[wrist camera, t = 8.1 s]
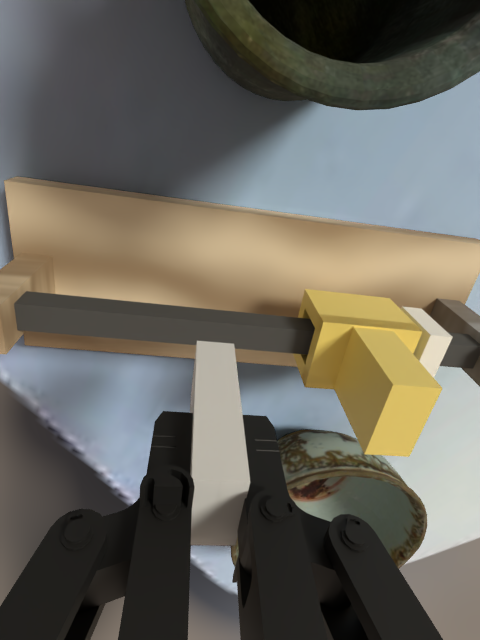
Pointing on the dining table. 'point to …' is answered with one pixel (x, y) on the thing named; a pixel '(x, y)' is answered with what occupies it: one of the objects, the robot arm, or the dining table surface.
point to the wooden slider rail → (217, 262)
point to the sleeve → (369, 368)
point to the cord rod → (186, 325)
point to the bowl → (351, 489)
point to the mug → (342, 48)
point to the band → (429, 339)
